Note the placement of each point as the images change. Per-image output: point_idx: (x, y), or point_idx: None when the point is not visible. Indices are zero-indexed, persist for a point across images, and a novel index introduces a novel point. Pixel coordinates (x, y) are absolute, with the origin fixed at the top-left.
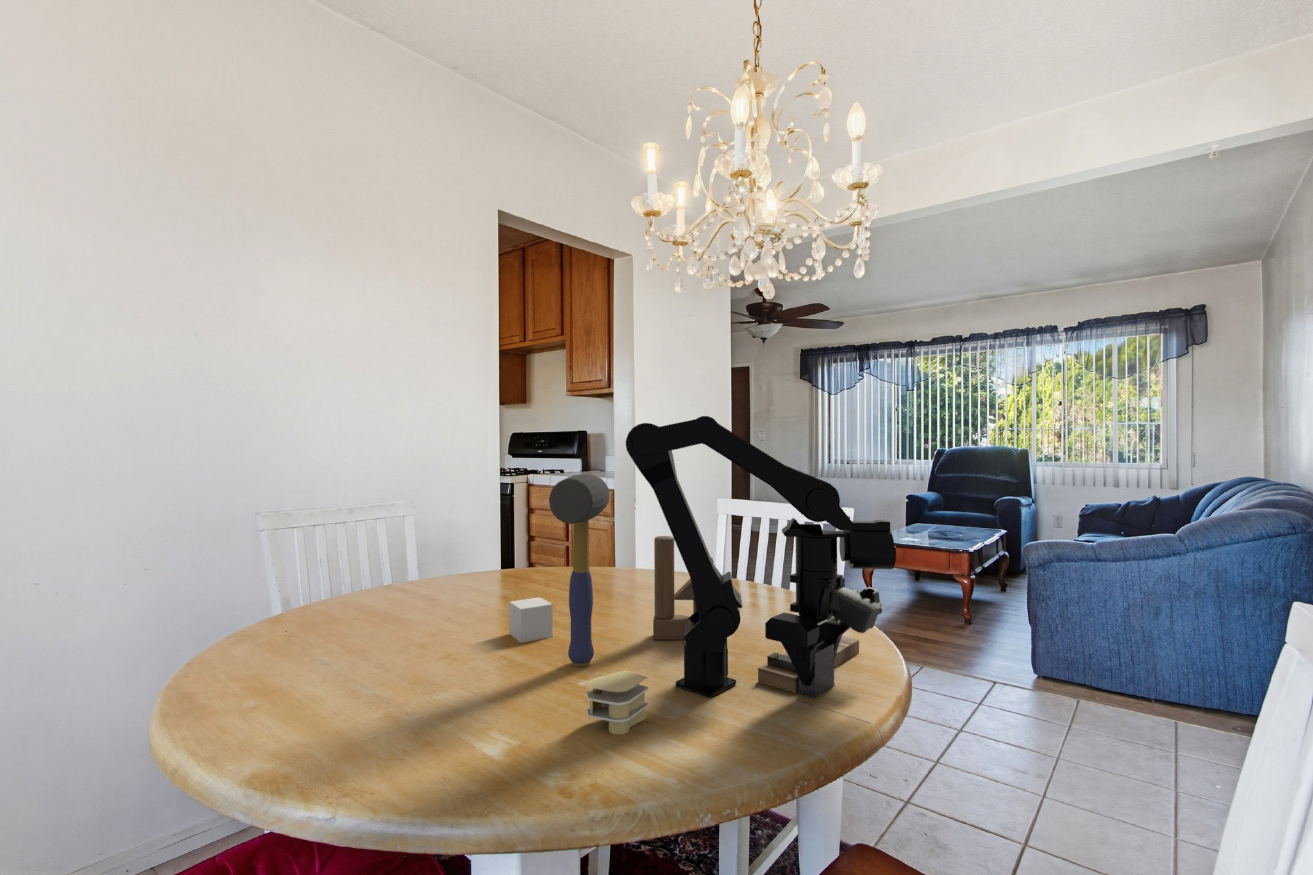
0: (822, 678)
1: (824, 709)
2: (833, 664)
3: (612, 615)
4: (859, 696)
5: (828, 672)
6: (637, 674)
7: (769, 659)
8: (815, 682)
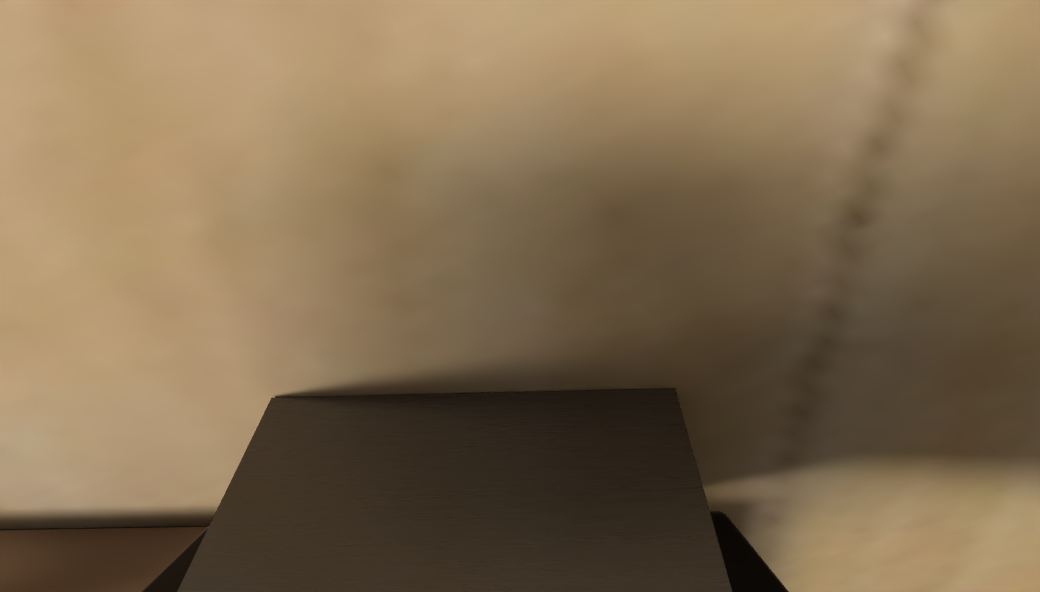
0: (516, 507)
1: (879, 232)
2: (199, 587)
3: None
4: (292, 109)
5: (358, 531)
6: None
7: None
8: (693, 509)
